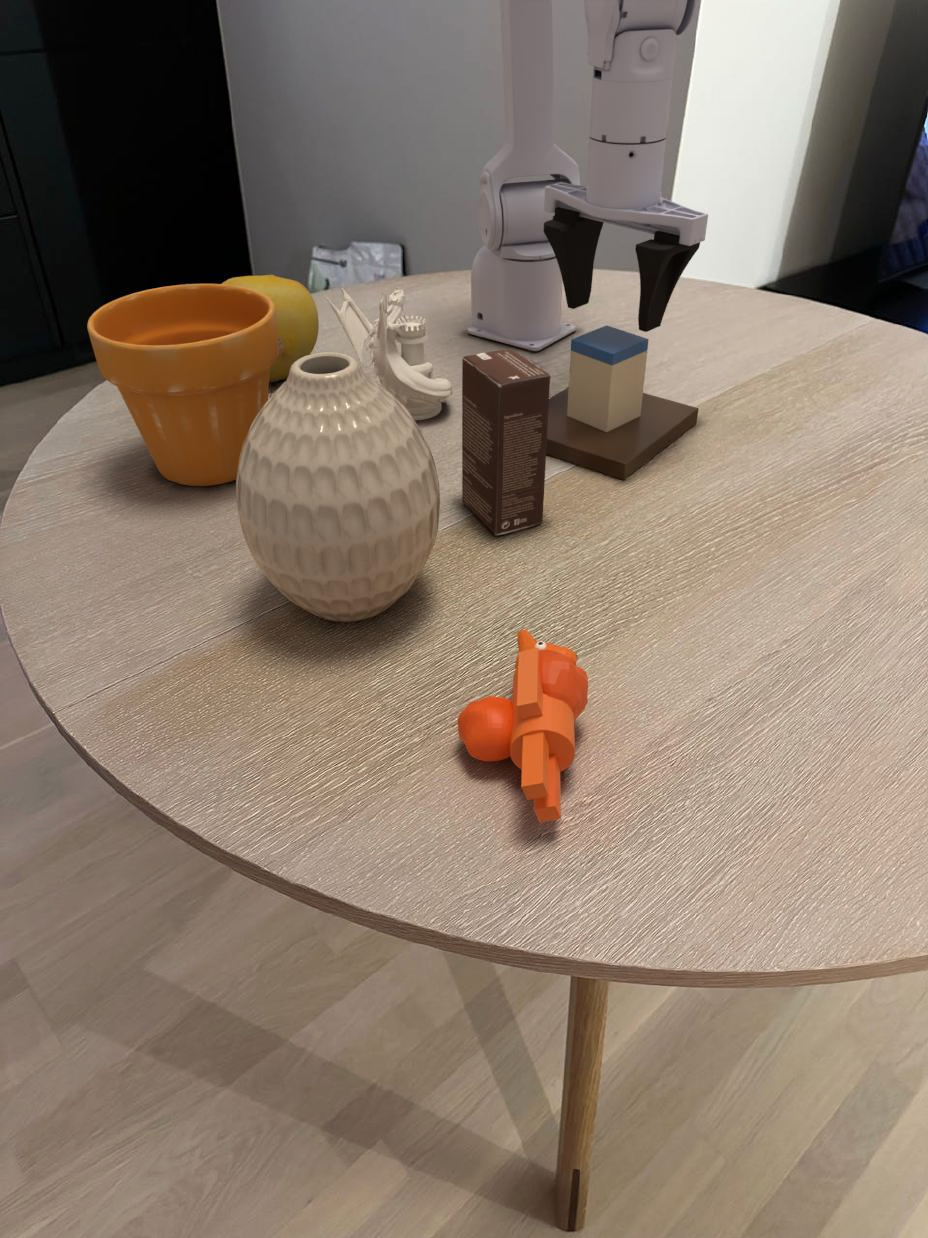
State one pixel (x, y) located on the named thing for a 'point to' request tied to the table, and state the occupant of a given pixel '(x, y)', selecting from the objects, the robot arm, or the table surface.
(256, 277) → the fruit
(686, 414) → the board
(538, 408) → the box
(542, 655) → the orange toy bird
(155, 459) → the flower pot
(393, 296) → the figurine
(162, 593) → the table surface
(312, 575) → the vase
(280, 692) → the table surface
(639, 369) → the carton
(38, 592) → the table surface
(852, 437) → the table surface
